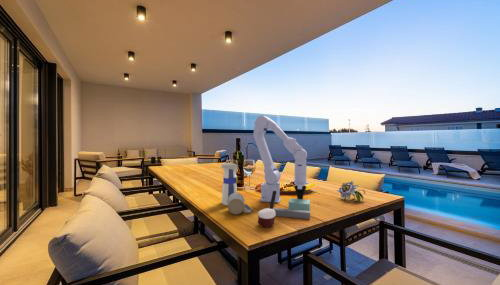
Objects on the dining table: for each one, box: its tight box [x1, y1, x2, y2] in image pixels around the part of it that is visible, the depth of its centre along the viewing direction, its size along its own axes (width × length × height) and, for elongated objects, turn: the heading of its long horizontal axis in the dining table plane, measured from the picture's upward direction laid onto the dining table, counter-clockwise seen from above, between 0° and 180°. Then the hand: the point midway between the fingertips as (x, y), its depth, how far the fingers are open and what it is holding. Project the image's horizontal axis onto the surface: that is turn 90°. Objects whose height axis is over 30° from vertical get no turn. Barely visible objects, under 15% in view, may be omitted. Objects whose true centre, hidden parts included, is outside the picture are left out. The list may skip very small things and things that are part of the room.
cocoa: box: [257, 191, 276, 228], centre depth 82 cm, size 10×6×12 cm, turn 113°
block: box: [288, 197, 311, 212], centre depth 102 cm, size 9×7×4 cm
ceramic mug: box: [227, 192, 253, 216], centre depth 97 cm, size 11×8×8 cm
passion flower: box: [336, 180, 366, 203], centre depth 119 cm, size 11×11×12 cm
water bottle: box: [221, 152, 239, 206], centre depth 110 cm, size 8×9×25 cm
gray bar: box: [273, 207, 311, 220], centre depth 92 cm, size 15×2×2 cm, turn 76°
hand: (300, 200), depth 110 cm, fingers closed
